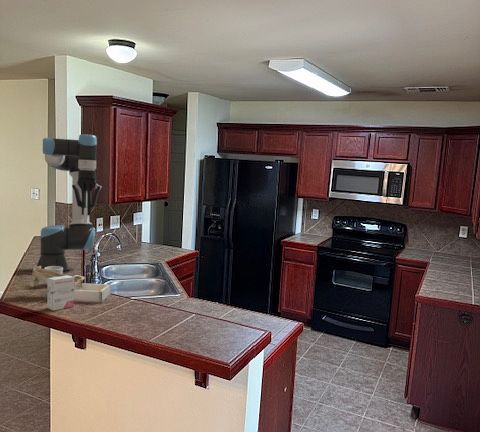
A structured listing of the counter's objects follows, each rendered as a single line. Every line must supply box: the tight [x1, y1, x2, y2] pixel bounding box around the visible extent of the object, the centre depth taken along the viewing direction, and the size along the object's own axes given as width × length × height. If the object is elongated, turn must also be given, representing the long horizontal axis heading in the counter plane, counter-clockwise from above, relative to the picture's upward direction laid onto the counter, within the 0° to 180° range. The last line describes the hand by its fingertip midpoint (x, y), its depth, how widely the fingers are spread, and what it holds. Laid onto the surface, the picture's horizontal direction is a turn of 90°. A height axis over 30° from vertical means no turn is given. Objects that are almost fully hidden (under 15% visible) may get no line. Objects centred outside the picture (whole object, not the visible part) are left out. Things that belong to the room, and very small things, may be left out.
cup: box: [42, 266, 64, 286], centre depth 202 cm, size 11×8×8 cm
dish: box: [74, 282, 112, 304], centre depth 186 cm, size 12×12×4 cm
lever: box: [29, 266, 86, 290], centre depth 190 cm, size 15×17×8 cm
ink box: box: [46, 275, 75, 311], centre depth 171 cm, size 9×5×12 cm, turn 137°
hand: (86, 222), depth 201 cm, fingers closed
